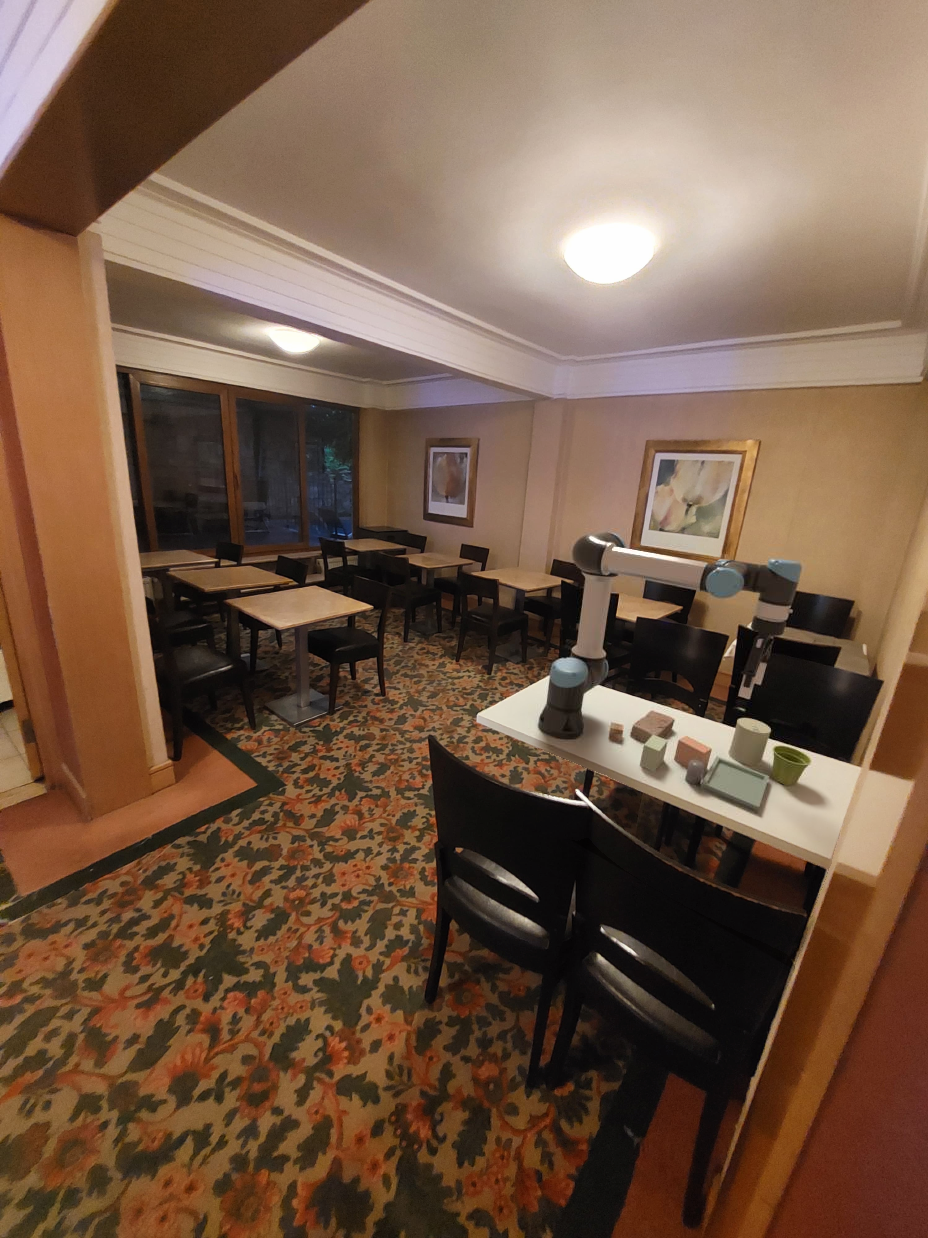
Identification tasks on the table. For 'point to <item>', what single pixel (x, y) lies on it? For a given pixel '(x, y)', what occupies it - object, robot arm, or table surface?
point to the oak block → (616, 731)
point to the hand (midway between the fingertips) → (749, 690)
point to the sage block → (653, 752)
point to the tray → (735, 783)
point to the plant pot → (788, 764)
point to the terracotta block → (692, 751)
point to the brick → (652, 726)
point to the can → (749, 741)
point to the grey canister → (694, 772)
